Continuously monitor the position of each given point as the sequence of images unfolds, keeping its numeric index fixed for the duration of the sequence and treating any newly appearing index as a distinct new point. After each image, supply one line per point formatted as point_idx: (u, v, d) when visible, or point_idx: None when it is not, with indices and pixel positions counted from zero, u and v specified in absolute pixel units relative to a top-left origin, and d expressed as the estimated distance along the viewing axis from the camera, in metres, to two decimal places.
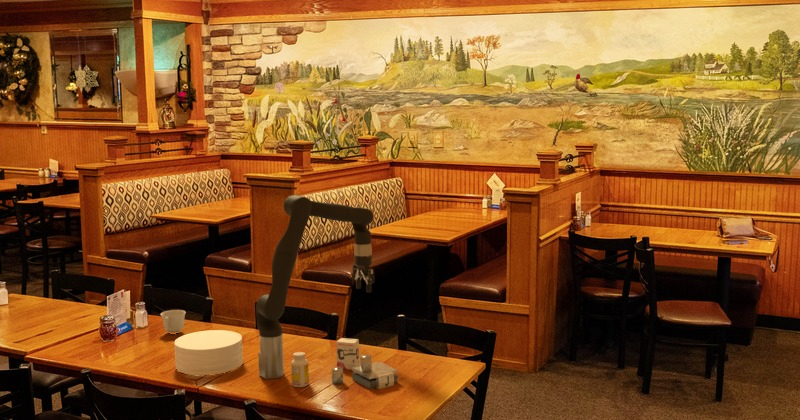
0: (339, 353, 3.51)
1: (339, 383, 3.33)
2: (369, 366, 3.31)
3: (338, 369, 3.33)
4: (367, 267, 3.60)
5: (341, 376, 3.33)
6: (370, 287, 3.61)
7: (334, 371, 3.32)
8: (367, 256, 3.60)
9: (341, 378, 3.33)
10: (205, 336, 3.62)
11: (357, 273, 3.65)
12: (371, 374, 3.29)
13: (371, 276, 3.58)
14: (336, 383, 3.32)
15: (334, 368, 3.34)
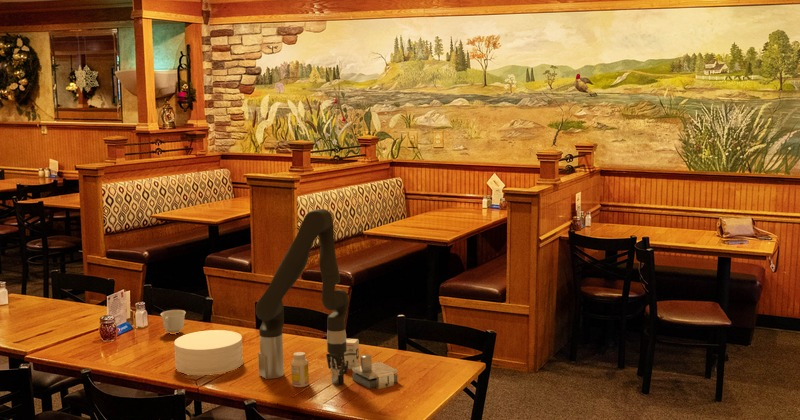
0: None
1: None
2: (369, 366, 3.31)
3: None
4: (341, 355, 3.30)
5: None
6: (342, 378, 3.31)
7: (334, 371, 3.32)
8: (341, 344, 3.29)
9: None
10: (205, 336, 3.62)
11: (331, 362, 3.34)
12: (371, 374, 3.29)
13: (344, 368, 3.28)
14: (336, 383, 3.32)
15: (334, 368, 3.34)
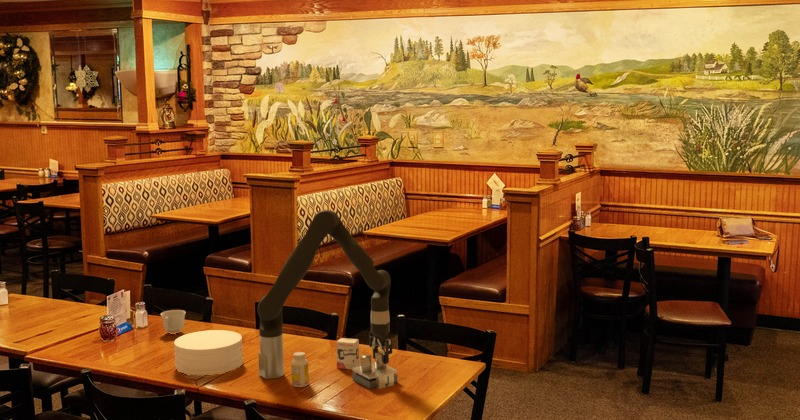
0: (339, 353, 3.51)
1: (382, 367, 3.35)
2: (369, 366, 3.31)
3: (381, 353, 3.35)
4: (385, 336, 3.32)
5: None
6: (387, 358, 3.32)
7: (377, 355, 3.34)
8: (385, 324, 3.31)
9: None
10: (205, 336, 3.62)
11: (374, 342, 3.36)
12: (371, 374, 3.29)
13: (389, 347, 3.30)
14: (379, 367, 3.35)
15: (377, 352, 3.36)
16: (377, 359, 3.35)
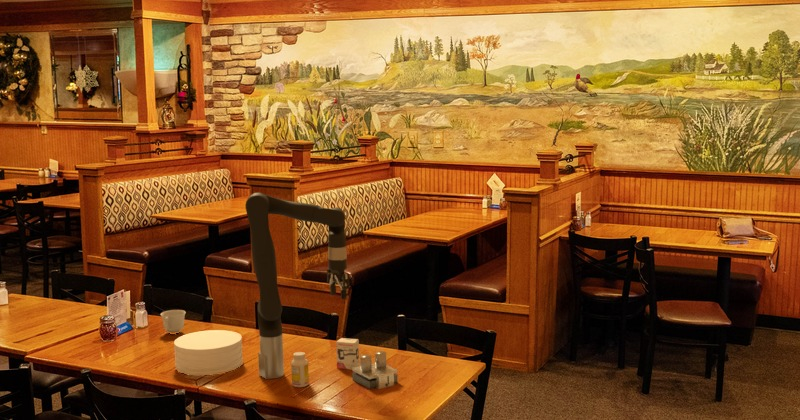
0: (339, 353, 3.51)
1: (382, 367, 3.35)
2: (369, 366, 3.31)
3: (381, 353, 3.35)
4: (341, 272, 3.37)
5: (384, 360, 3.35)
6: (345, 293, 3.38)
7: (377, 355, 3.34)
8: (341, 260, 3.37)
9: (385, 362, 3.35)
10: (205, 336, 3.62)
11: (331, 278, 3.42)
12: (371, 374, 3.29)
13: (346, 281, 3.35)
14: (379, 367, 3.35)
15: (377, 352, 3.36)
16: (377, 359, 3.35)
